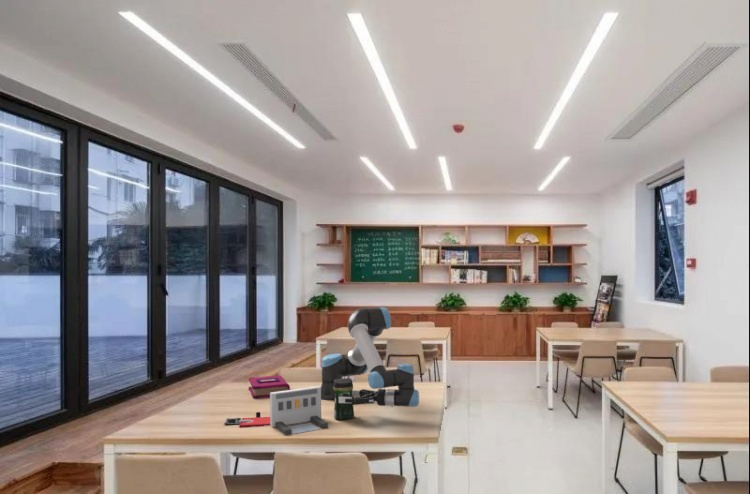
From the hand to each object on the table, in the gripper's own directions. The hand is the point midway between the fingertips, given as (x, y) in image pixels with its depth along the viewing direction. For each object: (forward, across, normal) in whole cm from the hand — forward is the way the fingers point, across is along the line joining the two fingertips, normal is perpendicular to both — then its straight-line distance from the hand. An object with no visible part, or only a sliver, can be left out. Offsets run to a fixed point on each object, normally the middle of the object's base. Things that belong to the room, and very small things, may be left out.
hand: (342, 396), depth 237 cm
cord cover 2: (+8, -11, -10) cm, 17 cm away
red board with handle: (+39, -11, -11) cm, 42 cm away
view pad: (+14, -18, -10) cm, 25 cm away
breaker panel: (+20, -9, -10) cm, 24 cm away
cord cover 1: (+22, -22, -10) cm, 32 cm away
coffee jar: (0, 0, -10) cm, 11 cm away
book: (+60, +48, -11) cm, 77 cm away
